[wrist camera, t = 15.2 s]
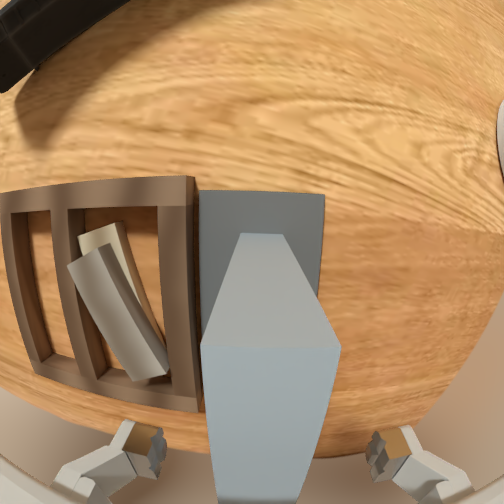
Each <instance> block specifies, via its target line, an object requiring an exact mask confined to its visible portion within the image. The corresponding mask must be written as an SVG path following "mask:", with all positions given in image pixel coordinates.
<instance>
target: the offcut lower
mask: <svg viewBox="0 0 504 504" xmlns="http://www.w3.org/2000/svg"><path fill="white" fill-rule="evenodd" d="M77 237H78V241H79V244H80V248H81V251H82V254H83V256H84V255H86V254H87V253H89V252H91V251H93V250H94V249H96V248H98V247H100V246H103V245H105V244H108V243H111V246H112V248H113V250H114V252H115V255H116V257H117V259H118V261H119V263H120V265H121V267H122V270H123V272H124V274H125V276H126V278H127V280H128V282H129V284H130V286H131V288H132V290H133V292H134V294H135V296H136V297H137V299H138V301H139V303H140V305H141V307H142V309H143V311H144V312H145V314H146V316H147V318H148V320H149V321H150V323H151V325H152V327H153V328H154V330H155V332H156V334H157V335H158V337H159V339H160V340H161V342H162V344H163V345H164V347H165V349H166V350H167V347H166V345H165V342H164V340H163V338H162V335H161V333H160V330H159V328H158V325H157V323H156V320H155V318H154V315H153V313H152V310H151V307H150V305H149V302H148V299H147V297H146V294H145V291H144V288H143V285H142V282H141V280H140V277H139V274H138V271H137V268H136V265H135V261H134V258H133V255H132V252H131V249H130V245H129V242H128V239H127V235H126V232H125V228H124V225H123V221H120V222H116V223H113V224H110V225H107V226H104V227H101V228H99V229H96V230H93V231H90V232H88V233H85V234H82V235H80V236H77Z"/></svg>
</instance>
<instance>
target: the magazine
mask: <svg viewBox="0 0 504 504" xmlns="http://www.w3.org/2000/svg"><path fill="white" fill-rule="evenodd" d="M129 1H130V0H11V1H10V2H9V3H8V4H6V5H5V6H4V7H3V8H2V9H1V10H0V93H4V92H6V91H8V90H9V89H11V88H12V87H13V86H14V85H15V84H16V83H17V82H19V81H20V80H21V79H22V78H23V77H25V76H26V75H27V74H28V73H30V72H31V71H32V70H33V69H34V68H35V70H36V71H37V70H38V69H39V67H38V65H39V64H40V63H42V62H43V61H44V60H45V59H47V58H48V57H49V56H50V55H52V54H53V53H54V52H55V51H57V50H58V49H59V48H61V47H62V46H63V45H65V44H66V43H67V42H69V41H70V40H72V39H73V38H74V37H76V36H77V35H79V34H80V33H82V32H83V31H85V30H86V29H88V28H89V27H90V26H92V25H93V24H95V23H96V22H98V21H99V20H101V19H102V18H104V17H105V16H107V15H108V14H110V13H111V12H113V11H115V10H116V9H118V8H119V7H121V6H122V5H124V4H125V3H127V2H129Z"/></svg>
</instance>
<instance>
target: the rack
mask: <svg viewBox="0 0 504 504" xmlns="http://www.w3.org/2000/svg"><path fill="white" fill-rule="evenodd" d="M194 179H195V177H192V176H155V177H135V178H119V179H106V180H95V181H84V182H75V183H66V184H58V185H50V186H43V187H36V188H29V189H23V190H17V191H11V192H5V193H0V223H1V235H2V244H3V253H4V260H5V266H6V272H7V278H8V283H9V288H10V293H11V298H12V302H13V306H14V310H15V314H16V318H17V321H18V325H19V328H20V332H21V335H22V338H23V341H24V344H25V347H26V350H27V353H28V356H29V359H30V361H31V364H32V367H33V369H34V372H35V373H36V374H38V375H41V376H43V377H46V378H49V379H51V380H54V381H57V382H60V383H63V384H66V385H69V386H72V387H75V388H78V389H81V390H85V391H88V392H92V393H95V394H99V395H103V396H106V397H110V398H114V399H119V400H123V401H127V402H132V403H137V404H142V405H147V406H152V407H158V408H164V409H170V410H177V411H185V412H193V413H198V412H199V408H200V404H201V400H202V386H201V374H200V362H199V349H198V333H197V316H196V294H195V262H194ZM127 206H158V247H159V267H160V283H161V296H162V307H163V318H164V327H165V336H166V344H167V352H168V359H169V366H170V373H171V378H169V377H162V376H156V377H151V378H147V379H143V380H138V381H132V380H131V378H130V377H129V375H128V374H127V372H126V371H125V370H121V369H116V368H111V367H107V363H106V359H105V355H104V351H103V347H102V343H101V338H100V334H99V329H98V326H97V325H96V323H95V321H94V319H93V317H92V316H91V314H90V312H89V310H88V308H87V306H86V305H85V303H84V301H83V299H82V297H81V295H80V293H79V291H78V289H77V287H76V285H75V283H74V280H73V278H72V276H71V274H70V272H69V270H68V267H67V265H69V264H70V263H72V262H74V261H75V260H77V259H79V258H80V257H82V256H83V254H82V251H81V248H80V244H79V241H78V237H77V236H80V235H82V234H85V218H84V208H96V207H127ZM42 210H50V211H51V229H52V241H53V251H54V260H55V267H56V274H57V281H58V287H59V292H60V298H61V303H62V308H63V312H64V317H65V321H66V326H67V330H68V334H69V337H70V341H71V345H72V348H73V352H74V355H75V359H73V358H69V357H66V356H62V355H59V354H55V353H52V350H51V347H50V343H49V340H48V337H47V333H46V330H45V326H44V322H43V318H42V314H41V310H40V305H39V301H38V296H37V291H36V286H35V280H34V274H33V268H32V261H31V254H30V245H29V235H28V221H27V212H29V211H42Z"/></svg>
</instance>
